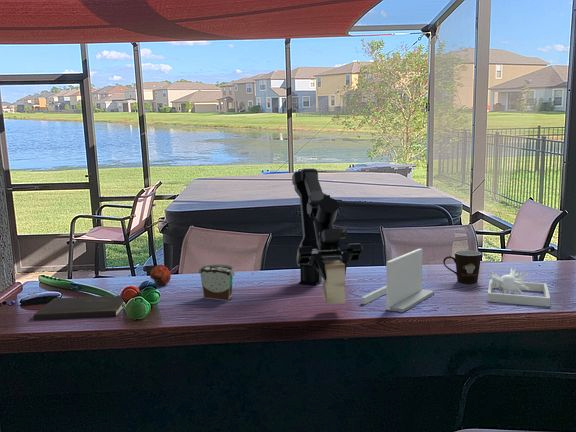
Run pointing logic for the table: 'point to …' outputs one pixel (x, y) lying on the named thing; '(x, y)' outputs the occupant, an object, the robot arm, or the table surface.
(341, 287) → the beige upright block
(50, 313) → the hardcover book
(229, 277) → the food container
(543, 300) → the white flat square tray
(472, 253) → the coffee mug
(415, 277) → the board
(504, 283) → the spiky ball
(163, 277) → the pomegranate
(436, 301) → the table surface
